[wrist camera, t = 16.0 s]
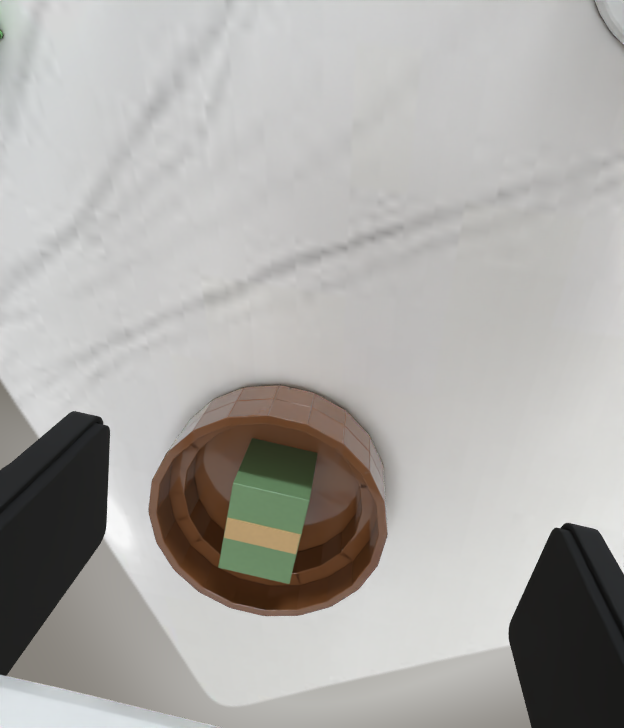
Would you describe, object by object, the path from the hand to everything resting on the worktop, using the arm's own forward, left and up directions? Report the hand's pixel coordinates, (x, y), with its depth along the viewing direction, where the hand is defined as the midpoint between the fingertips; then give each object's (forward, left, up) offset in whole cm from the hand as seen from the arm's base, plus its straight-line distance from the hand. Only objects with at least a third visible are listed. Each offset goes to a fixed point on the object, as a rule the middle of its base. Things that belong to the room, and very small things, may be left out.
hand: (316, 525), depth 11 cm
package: (+2, +17, -25) cm, 30 cm away
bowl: (+2, +16, -26) cm, 31 cm away
